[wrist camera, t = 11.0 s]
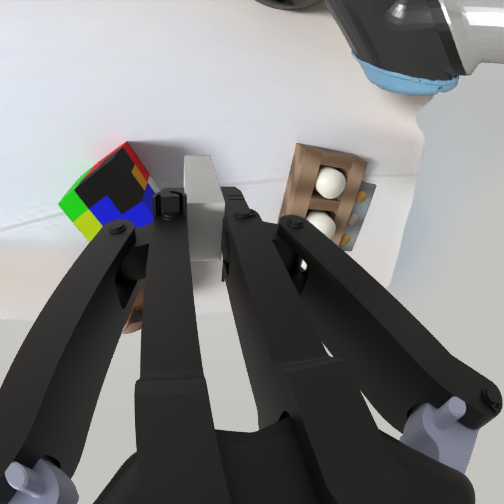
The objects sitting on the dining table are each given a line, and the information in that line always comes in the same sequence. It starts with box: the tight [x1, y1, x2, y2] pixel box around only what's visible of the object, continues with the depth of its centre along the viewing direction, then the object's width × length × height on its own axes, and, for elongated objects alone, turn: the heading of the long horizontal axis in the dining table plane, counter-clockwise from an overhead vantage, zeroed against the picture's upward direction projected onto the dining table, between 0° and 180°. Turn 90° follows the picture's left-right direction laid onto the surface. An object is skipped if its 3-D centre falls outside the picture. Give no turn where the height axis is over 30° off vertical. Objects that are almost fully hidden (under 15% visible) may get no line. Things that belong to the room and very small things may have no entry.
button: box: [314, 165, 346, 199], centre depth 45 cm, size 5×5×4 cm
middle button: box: [305, 209, 336, 239], centre depth 49 cm, size 5×5×4 cm
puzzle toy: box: [58, 142, 161, 242], centre depth 36 cm, size 10×10×10 cm
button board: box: [277, 143, 376, 251], centre depth 51 cm, size 26×19×4 cm
